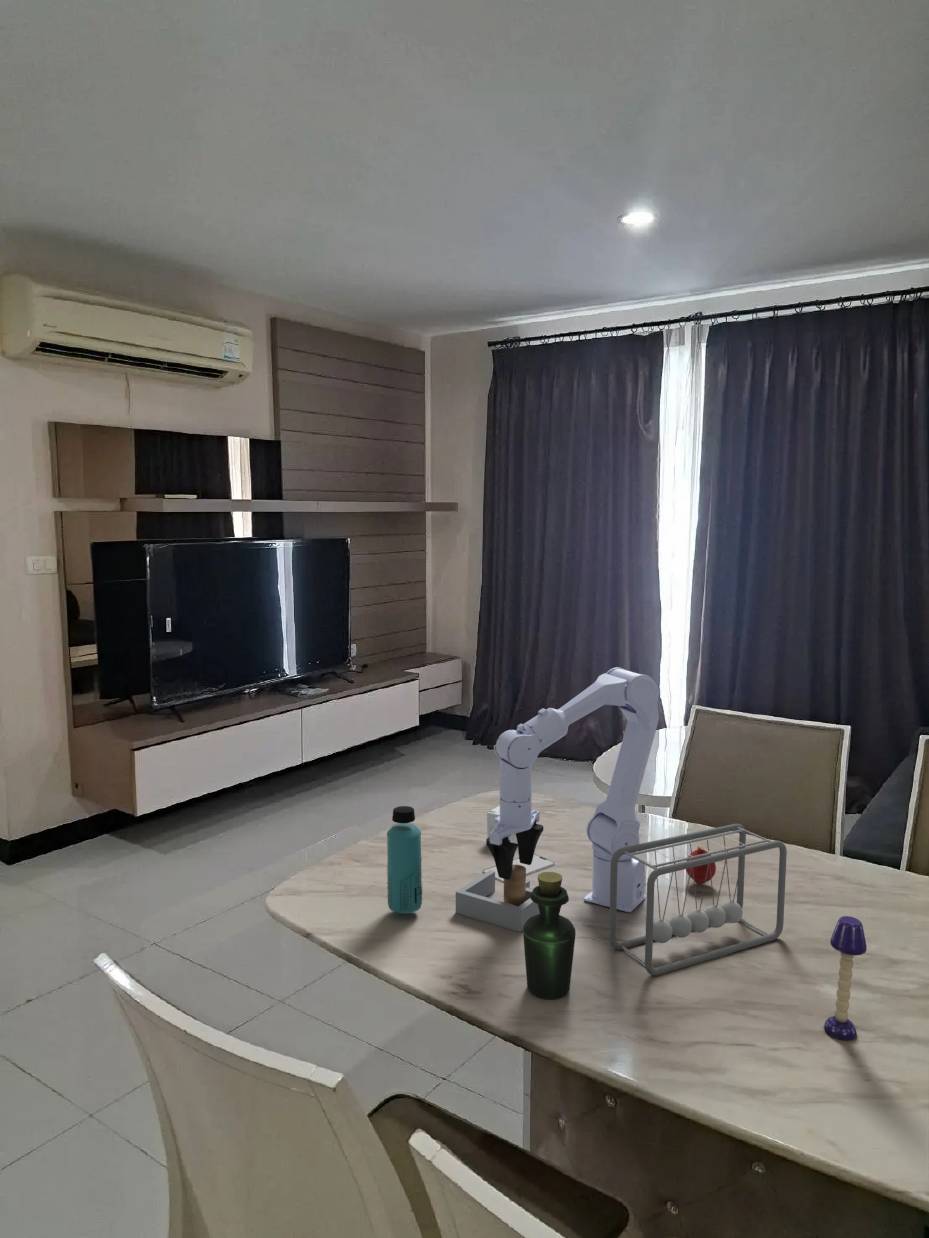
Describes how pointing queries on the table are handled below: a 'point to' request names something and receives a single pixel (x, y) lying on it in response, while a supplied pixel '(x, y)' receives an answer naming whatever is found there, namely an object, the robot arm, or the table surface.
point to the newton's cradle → (696, 918)
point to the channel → (493, 904)
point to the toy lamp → (845, 974)
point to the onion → (701, 868)
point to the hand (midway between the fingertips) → (515, 870)
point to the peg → (515, 886)
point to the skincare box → (491, 823)
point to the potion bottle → (549, 940)
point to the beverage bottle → (404, 862)
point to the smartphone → (527, 866)
